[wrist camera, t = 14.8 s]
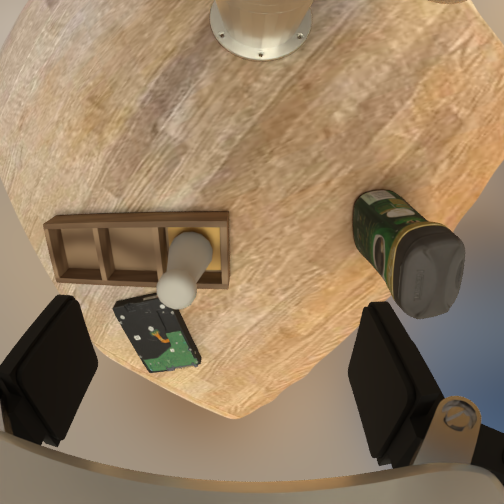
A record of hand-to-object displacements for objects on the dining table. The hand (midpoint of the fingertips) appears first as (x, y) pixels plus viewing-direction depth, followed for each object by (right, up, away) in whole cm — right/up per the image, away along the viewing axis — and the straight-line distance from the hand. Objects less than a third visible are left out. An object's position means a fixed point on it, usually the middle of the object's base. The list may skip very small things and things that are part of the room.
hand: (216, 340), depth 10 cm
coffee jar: (+19, +7, +34) cm, 39 cm away
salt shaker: (-7, +4, +34) cm, 35 cm away
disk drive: (-14, -10, +42) cm, 46 cm away
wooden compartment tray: (-16, +4, +35) cm, 38 cm away
